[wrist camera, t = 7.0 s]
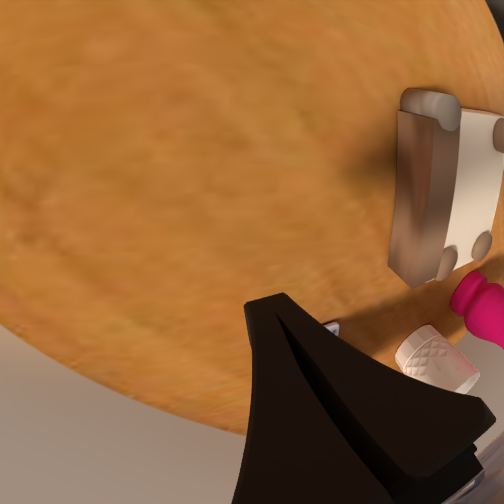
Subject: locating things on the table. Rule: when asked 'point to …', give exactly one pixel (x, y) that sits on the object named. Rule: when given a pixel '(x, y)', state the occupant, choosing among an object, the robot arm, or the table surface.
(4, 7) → the table surface
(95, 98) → the table surface
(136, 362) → the table surface
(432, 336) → the white cup
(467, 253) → the stool seat
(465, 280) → the pepper mill
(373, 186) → the table surface
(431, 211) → the folding leg
